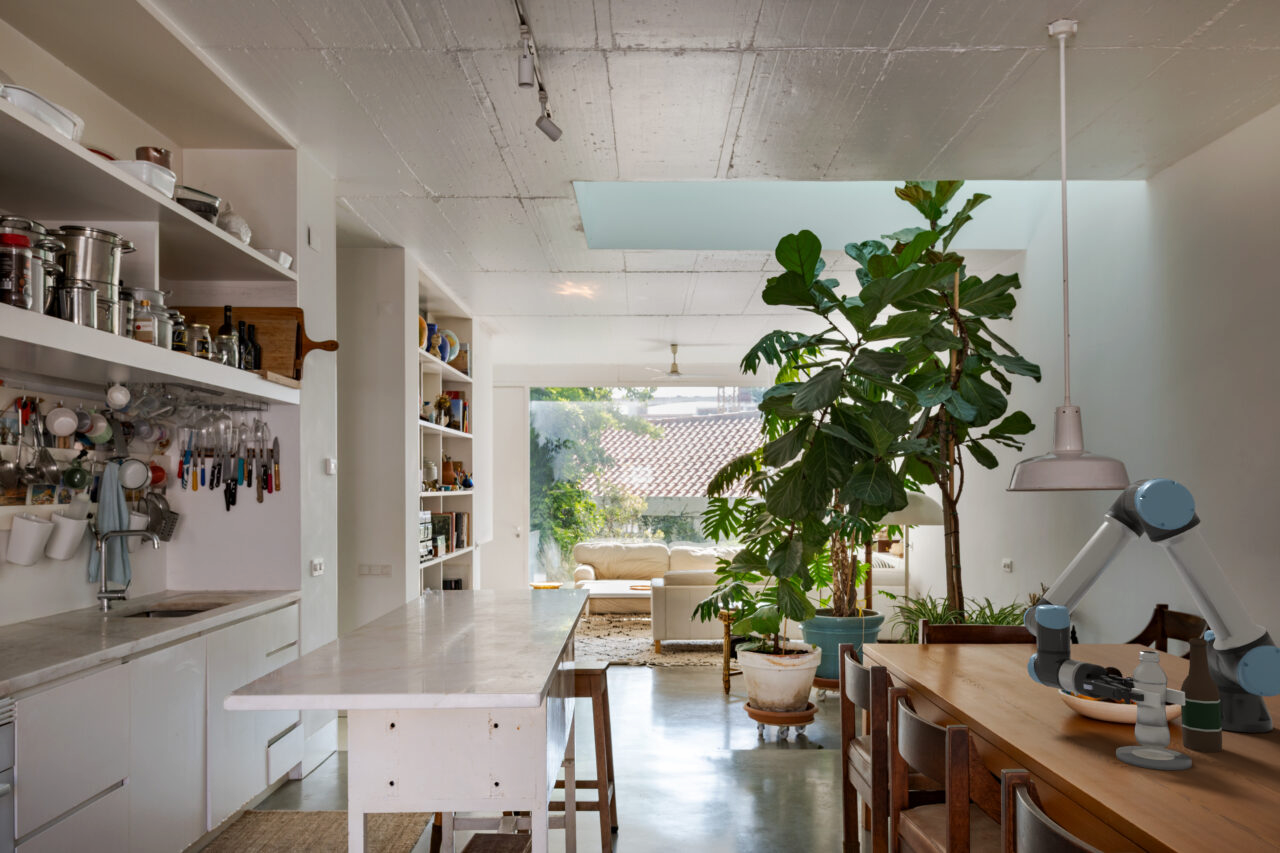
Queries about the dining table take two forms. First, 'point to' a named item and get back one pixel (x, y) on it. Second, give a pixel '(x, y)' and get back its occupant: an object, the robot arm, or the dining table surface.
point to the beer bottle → (1201, 703)
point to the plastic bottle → (1151, 719)
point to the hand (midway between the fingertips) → (1171, 699)
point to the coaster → (1153, 758)
